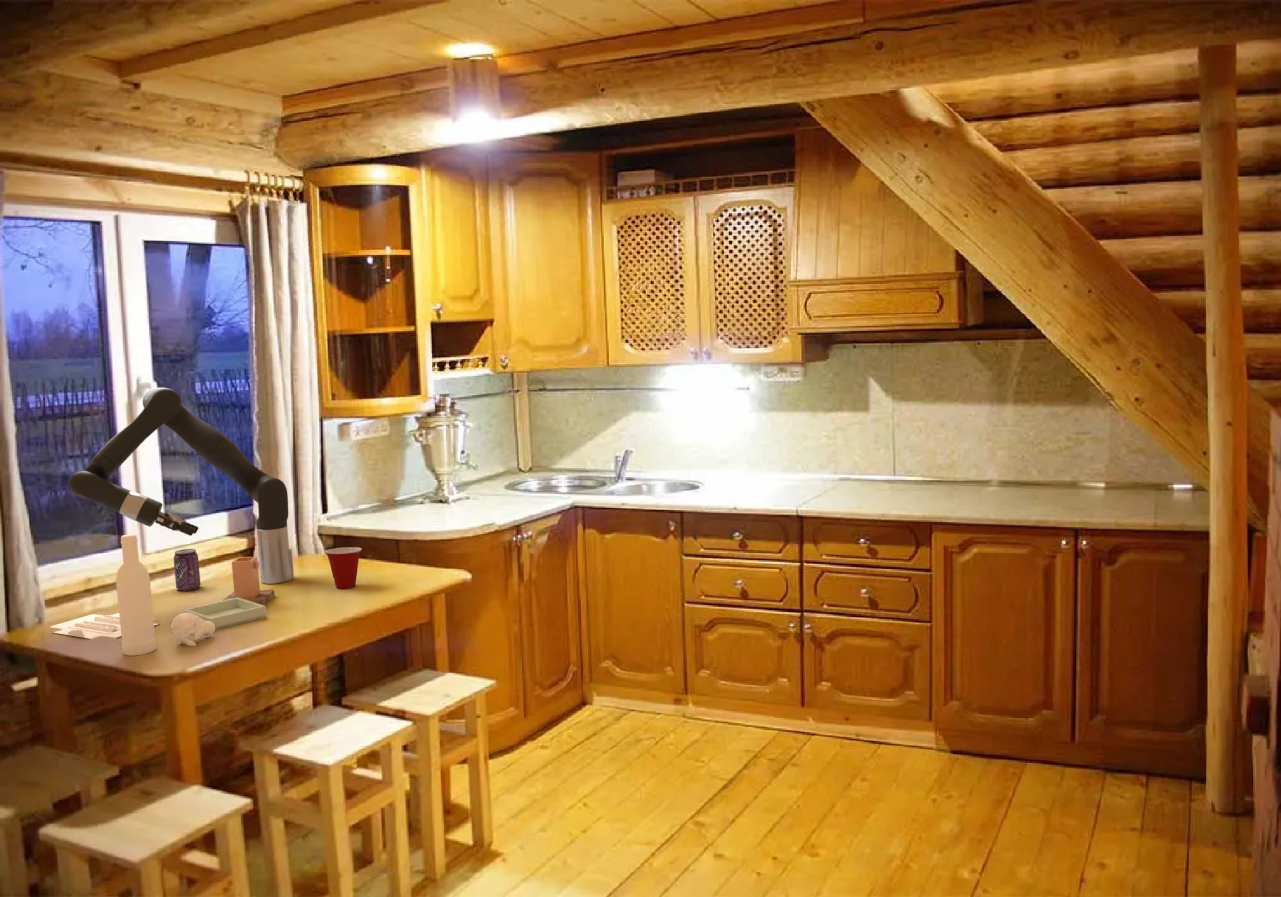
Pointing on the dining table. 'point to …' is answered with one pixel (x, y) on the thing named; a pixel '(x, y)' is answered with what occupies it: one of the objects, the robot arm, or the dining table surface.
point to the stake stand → (257, 597)
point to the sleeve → (246, 577)
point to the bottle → (134, 601)
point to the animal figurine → (190, 628)
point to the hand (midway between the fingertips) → (195, 531)
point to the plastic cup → (344, 566)
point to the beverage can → (186, 569)
